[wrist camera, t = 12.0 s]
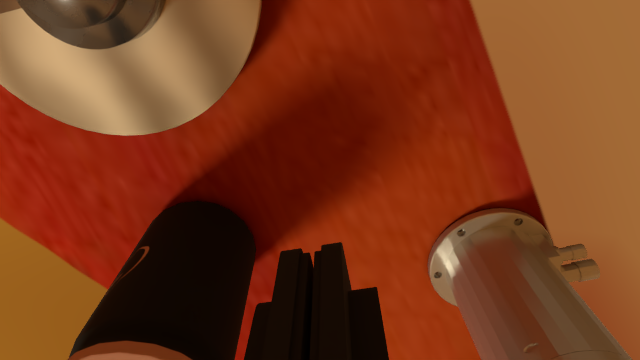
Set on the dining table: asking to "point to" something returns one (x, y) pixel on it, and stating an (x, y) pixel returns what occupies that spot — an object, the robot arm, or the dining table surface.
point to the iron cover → (94, 20)
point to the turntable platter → (131, 67)
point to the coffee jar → (176, 291)
